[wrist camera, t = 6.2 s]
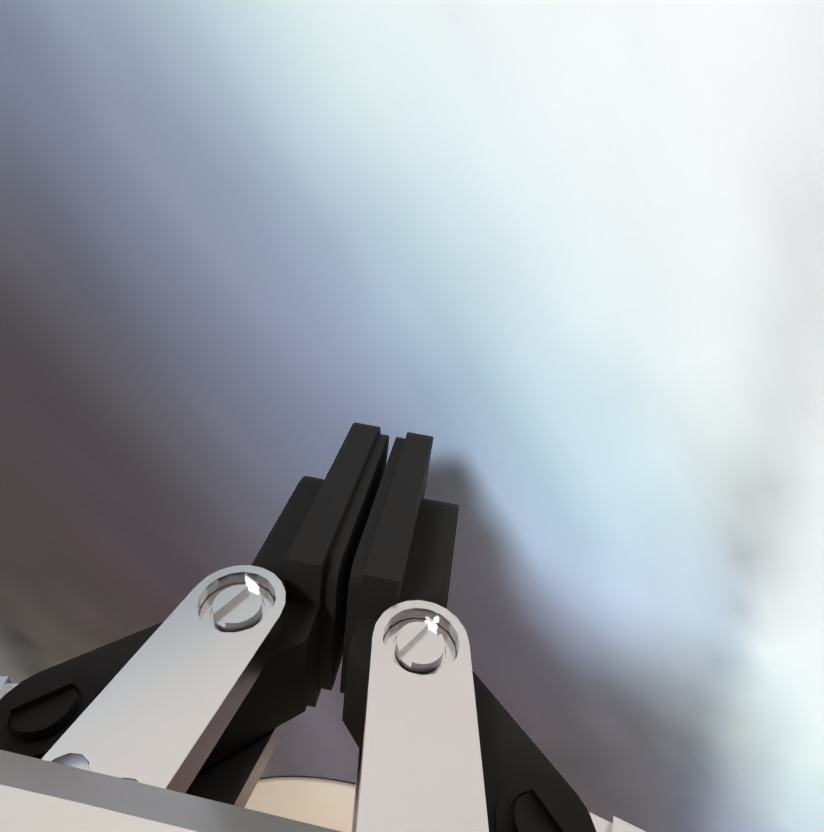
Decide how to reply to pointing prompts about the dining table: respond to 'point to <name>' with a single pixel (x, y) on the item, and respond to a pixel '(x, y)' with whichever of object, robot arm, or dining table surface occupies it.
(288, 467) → the dining table surface
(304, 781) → the cream disc
